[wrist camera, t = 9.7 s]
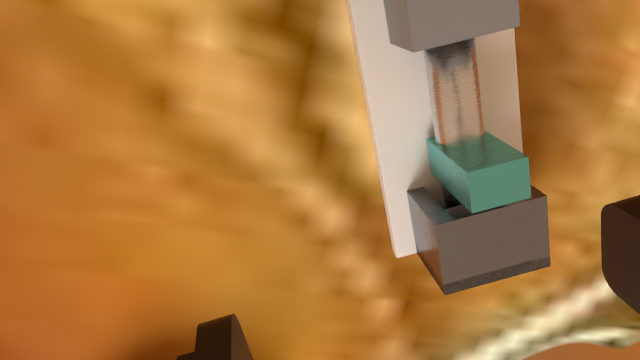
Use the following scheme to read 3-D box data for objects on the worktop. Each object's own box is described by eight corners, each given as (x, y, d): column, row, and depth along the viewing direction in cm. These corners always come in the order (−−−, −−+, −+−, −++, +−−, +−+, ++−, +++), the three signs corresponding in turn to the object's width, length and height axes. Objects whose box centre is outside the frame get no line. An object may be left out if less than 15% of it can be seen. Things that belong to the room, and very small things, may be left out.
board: (332, -72, 30) (352, -84, 25) (496, -110, 30) (549, -129, 25) (393, 251, 38) (417, 293, 33) (520, 217, 39) (564, 253, 33)
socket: (406, 191, 35) (434, 225, 30) (503, 165, 36) (546, 195, 31) (416, 252, 37) (444, 295, 32) (508, 227, 38) (550, 266, 33)
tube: (409, 30, 31) (452, 42, 25) (464, 17, 31) (520, 25, 25) (438, 230, 36) (479, 280, 30) (485, 217, 37) (535, 265, 30)
